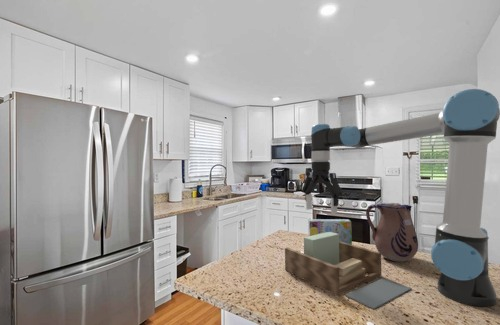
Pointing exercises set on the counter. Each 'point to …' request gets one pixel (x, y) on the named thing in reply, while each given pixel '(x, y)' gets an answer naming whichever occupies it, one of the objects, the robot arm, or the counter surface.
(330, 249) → the pale green block
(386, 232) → the ceramic pitcher
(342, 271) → the offcut stack
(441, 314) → the counter surface
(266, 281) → the counter surface
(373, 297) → the mat
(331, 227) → the snack box
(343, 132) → the robot arm
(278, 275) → the counter surface
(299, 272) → the rack
